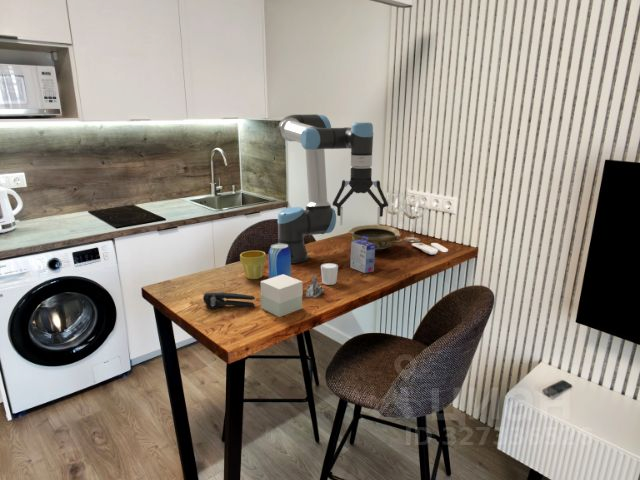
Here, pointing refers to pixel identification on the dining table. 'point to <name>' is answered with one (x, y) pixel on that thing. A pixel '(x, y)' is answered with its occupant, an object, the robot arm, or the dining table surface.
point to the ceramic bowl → (376, 235)
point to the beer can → (279, 260)
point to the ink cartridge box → (362, 255)
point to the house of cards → (314, 288)
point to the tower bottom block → (281, 306)
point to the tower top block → (281, 288)
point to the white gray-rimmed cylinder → (329, 273)
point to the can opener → (218, 300)
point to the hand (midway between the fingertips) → (359, 224)
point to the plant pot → (253, 263)
